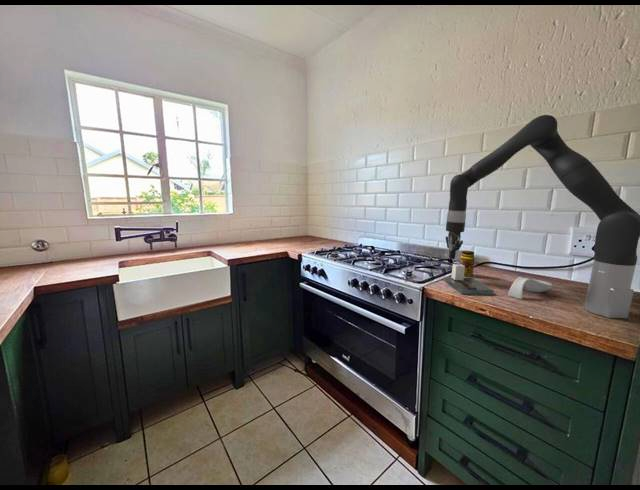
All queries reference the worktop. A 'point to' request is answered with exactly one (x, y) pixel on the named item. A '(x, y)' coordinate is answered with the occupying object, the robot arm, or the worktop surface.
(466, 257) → the condiment
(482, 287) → the plate
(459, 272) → the block
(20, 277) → the worktop surface
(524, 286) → the spoon rest
